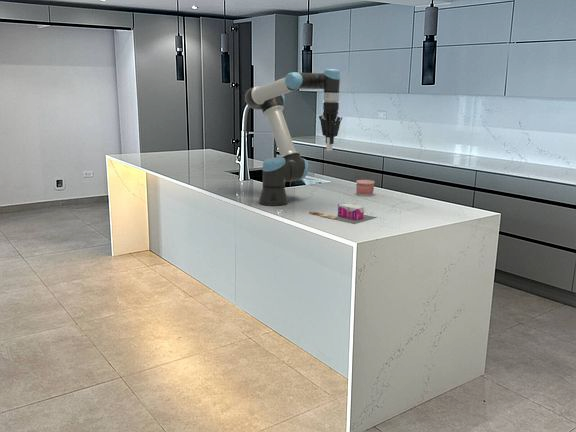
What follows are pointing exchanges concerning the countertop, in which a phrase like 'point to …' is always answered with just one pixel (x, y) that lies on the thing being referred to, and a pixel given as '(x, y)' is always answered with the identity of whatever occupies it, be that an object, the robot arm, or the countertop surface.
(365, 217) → the mat
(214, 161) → the countertop surface
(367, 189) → the container
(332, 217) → the turner
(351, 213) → the supplement box
